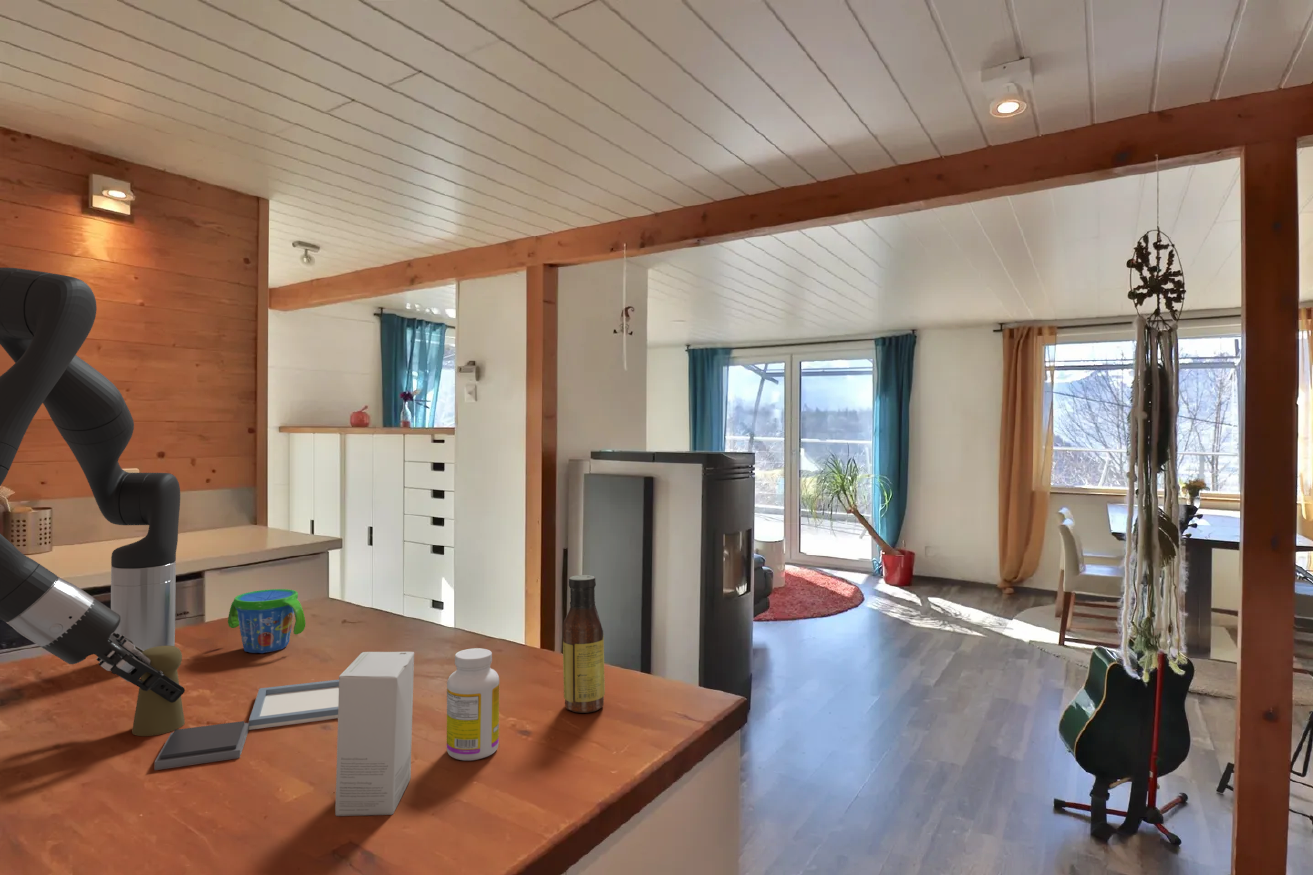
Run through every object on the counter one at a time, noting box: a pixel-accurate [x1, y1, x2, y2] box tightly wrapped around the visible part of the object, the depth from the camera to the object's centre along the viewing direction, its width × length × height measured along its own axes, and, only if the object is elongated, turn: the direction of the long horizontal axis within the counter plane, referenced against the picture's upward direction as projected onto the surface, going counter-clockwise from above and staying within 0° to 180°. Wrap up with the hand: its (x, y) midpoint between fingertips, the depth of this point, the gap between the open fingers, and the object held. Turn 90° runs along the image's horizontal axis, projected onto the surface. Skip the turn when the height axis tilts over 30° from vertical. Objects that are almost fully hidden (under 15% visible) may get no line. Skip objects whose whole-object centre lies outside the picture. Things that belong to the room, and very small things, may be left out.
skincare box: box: [334, 651, 415, 817], centre depth 81 cm, size 8×7×16 cm
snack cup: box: [227, 588, 306, 654], centre depth 134 cm, size 16×10×10 cm
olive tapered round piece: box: [131, 645, 186, 737], centre depth 98 cm, size 6×6×11 cm
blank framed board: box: [248, 679, 339, 731], centre depth 107 cm, size 13×13×1 cm
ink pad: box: [154, 720, 250, 771], centre depth 92 cm, size 9×9×2 cm
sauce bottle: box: [562, 574, 606, 714], centre depth 108 cm, size 7×6×20 cm
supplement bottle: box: [446, 647, 500, 762], centre depth 93 cm, size 7×7×13 cm
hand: (175, 690), depth 100 cm, fingers closed on olive tapered round piece, 4 cm apart
